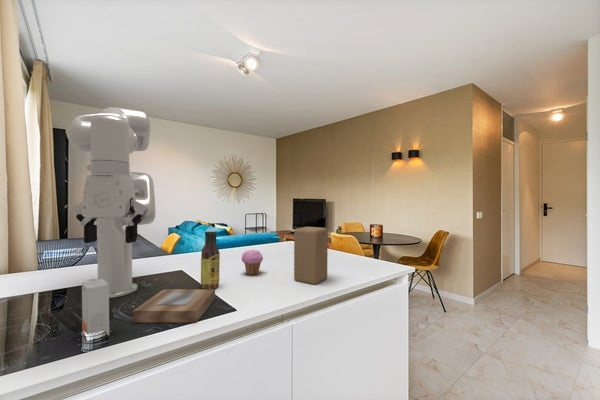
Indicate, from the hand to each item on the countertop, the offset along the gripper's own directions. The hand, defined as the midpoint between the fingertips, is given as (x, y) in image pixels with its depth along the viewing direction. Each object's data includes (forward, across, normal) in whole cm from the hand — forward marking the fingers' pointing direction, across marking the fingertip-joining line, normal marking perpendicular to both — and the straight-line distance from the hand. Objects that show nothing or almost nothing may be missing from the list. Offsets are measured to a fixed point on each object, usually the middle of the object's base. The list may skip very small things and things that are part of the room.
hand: (110, 242), depth 65 cm
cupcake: (+21, +24, +49) cm, 59 cm away
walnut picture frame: (+21, +10, +13) cm, 27 cm away
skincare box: (+21, -2, -2) cm, 22 cm away
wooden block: (+21, +49, +41) cm, 67 cm away
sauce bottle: (+21, +13, +32) cm, 40 cm away
